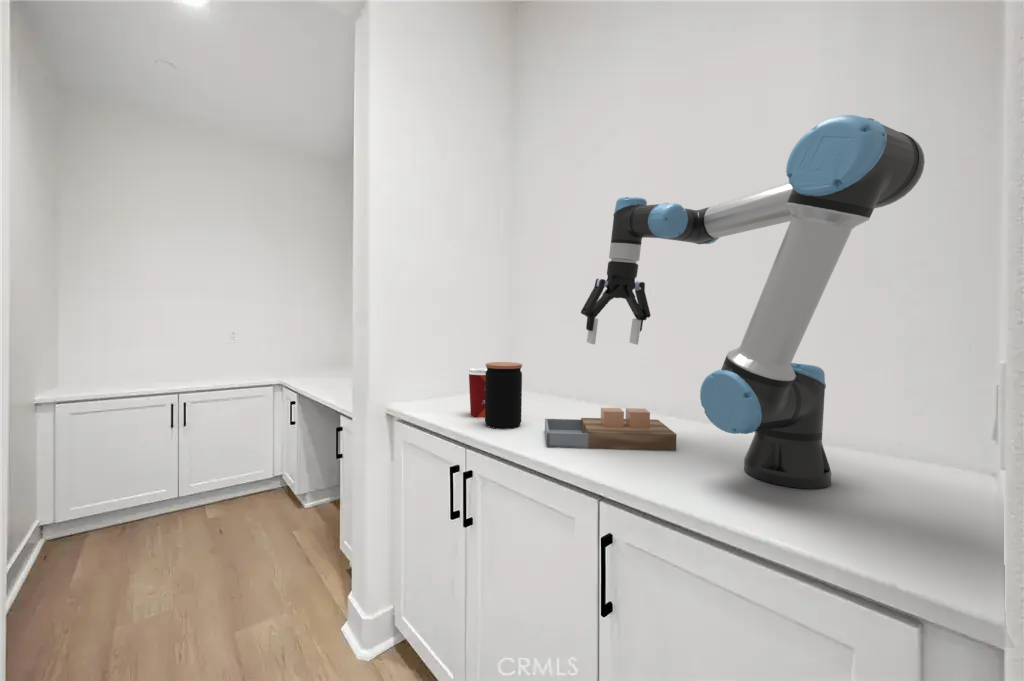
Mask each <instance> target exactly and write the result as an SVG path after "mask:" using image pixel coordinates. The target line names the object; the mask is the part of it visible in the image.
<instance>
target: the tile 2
mask: <svg viewBox="0 0 1024 681" xmlns="http://www.w3.org/2000/svg"><path fill="white" fill-rule="evenodd" d="M625 419H626V420H625V423H626V424H627V426H628V427H629V428H650V419H651V412H650V411H649V410H647V409H646V408H634V407H633V408H630V407H625Z"/></svg>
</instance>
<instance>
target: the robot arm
mask: <svg viewBox="0 0 1024 681" xmlns="http://www.w3.org/2000/svg"><path fill="white" fill-rule="evenodd" d="M925 162H926V161H925V154H924V151H923V148H922V146H921V145H920V143H919V142H918V141H917V140H915V139H914V138H913V137H912V136H910V135H909V134H906V133H905V132H900V131H899V130H898V131H897V130H896V129H893V128H891V127H889V126H887V125H884V124H882V123H881V122H880V121H878V120H875V119H874V118H871V117H863V116H859V115H854V114H842V115H837V116H833V117H830V118H828V119H825V120H823V121H821V122H820V123H818V124H817V125H815V126H814V127H813V128H811V129H809V130H808V131H807V132H806V133H804V135H802V137H801V138H800V139H799V140H798V141H797V142H796V144H795V145H794V147H793V149H792V150H791V151H790V153H789V157H788V159H787V162H786V168H785V169H786V170H785V173H786V176H787V178H788V181H787V182H785V183H783V184H779V185H776V186H775V185H774V186H771V187H769V188H766V189H763V190H759V191H756V192H753V193H750V194H747V195H746V194H745V195H743V196H740V197H737V198H734V199H730V200H727V201H723V202H721V203H717V204H713V205H712V206H707V207H704V208H701V209H692V208H684V207H683V205H682V204H679V203H671V202H670V203H668V202H663V203H657V204H648V202H647V200H646V198H643V197H638V196H621V197H619V198H617V200H616V203H615V207H614V212H613V215H612V216H613V220H612V221H613V223H612V230H611V238H610V239H611V240H610V245H609V246H610V247H609V253H608V254H609V255H608V258H609V259H610V260H609V261H608V262H607V269H606V274H607V277H606V279H603V278H596V280H595V283H594V286H593V289H592V291H591V292H590V293H589V296H588V298H587V300H586V301H585V303H584V305H583V307H582V309H581V311H580V313H581V315H583V316H585V317H586V326H585V329H586V331H587V336H586V338H587V339H586V343H588V344H590V345H596V340H597V339H596V338H597V332H598V331H597V330H598V324H599V323H598V322H599V319H598V318H597V316H598V315H599V314H600V313H601V312H602V310H603V309H604V308H605V307H606V306H607V305H608V303H609V302H610V301H612V300H613V299H624V300H625V301H626V303H627V304H628V306H629V308H630V310H631V312H632V315H633V316H634V318H632V320H631V327H630V335H629V343H630V344H633V345H639V340H640V333H641V332H642V331H643V326H644V325H643V323H644V321H646V320H647V319H650V317H651V311H650V307H649V303H648V300H647V296H646V283H645V282H644V281H638V280H637V281H636V280H635V279H636V278H637V277H638V270H639V264H638V263H637V262H639V261H640V258H641V257H640V256H641V250H642V249H641V247H642V240H643V239H644V238H646V239H647V238H648V239H649V238H650V239H652V238H653V239H663V240H671V241H678V242H679V241H680V242H686V243H691V244H697V245H710V244H713V243H715V242H716V241H718V240H719V239H720V238H722V237H728V236H732V235H735V234H740V233H744V232H749V231H755V230H757V229H763V228H767V227H771V226H776V225H780V224H784V223H788V222H789V224H788V227H787V229H786V231H785V234H784V237H783V238H782V241H781V244H780V247H779V249H778V250H777V254H776V256H775V258H774V261H773V263H772V266H771V269H770V272H769V274H768V276H767V279H766V282H765V284H764V286H763V288H762V292H761V294H760V296H759V298H758V301H757V303H756V305H755V308H754V311H753V313H752V316H751V318H750V321H749V323H748V325H747V328H746V331H745V333H744V336H743V338H742V340H741V343H740V346H739V347H737V348H734V349H732V350H729V351H728V352H727V354H726V355H725V356H726V357H725V359H724V362H723V364H722V367H721V369H717V370H715V371H713V372H712V373H709V374H707V376H706V377H705V378H704V380H703V381H702V384H701V386H700V391H699V392H700V394H699V397H700V398H699V399H700V404H701V406H702V407H703V410H704V414H705V416H706V417H707V419H708V420H709V421H710V422H711V423H712V424H713V426H715V427H716V428H717V429H720V430H721V431H723V432H725V433H729V434H732V435H733V434H734V435H735V434H738V435H739V434H741V435H743V434H744V435H747V434H753V433H754V434H753V435H754V436H753V438H752V441H751V443H750V445H749V447H748V450H747V452H746V454H745V456H744V460H743V461H744V463H743V464H744V465H743V470H744V472H746V474H748V475H749V476H751V477H753V478H756V479H758V480H760V481H764V482H766V483H770V484H774V485H779V486H784V487H789V488H796V489H808V490H809V489H810V490H811V489H813V490H814V489H823V488H827V487H829V486H831V484H832V470H831V467H830V464H829V463H830V462H829V461H828V457H827V454H826V451H825V448H824V445H823V430H824V429H823V428H824V409H825V391H826V388H827V385H826V381H825V380H826V378H825V375H826V373H825V371H824V370H823V368H821V367H820V366H816V365H813V364H812V365H811V364H805V363H797V362H793V359H794V357H795V356H796V354H797V351H798V349H799V347H800V344H801V342H802V340H803V338H804V336H805V333H806V331H807V329H808V327H809V325H810V322H811V320H812V318H813V315H814V314H815V311H816V309H817V307H818V305H819V302H820V301H821V298H822V296H823V294H824V292H825V290H826V288H827V286H828V283H829V281H830V279H831V276H832V275H833V272H834V270H835V268H836V265H837V263H838V262H839V259H840V257H841V255H842V253H843V250H844V249H845V246H846V244H847V242H848V240H849V237H850V234H851V233H852V230H853V229H854V228H856V227H858V226H860V225H861V224H864V223H866V222H867V221H869V220H870V218H871V217H872V214H873V212H874V211H875V209H878V208H883V207H886V206H888V205H891V204H893V203H895V202H898V201H899V200H901V199H903V197H906V195H907V194H909V193H911V191H912V190H913V189H914V187H915V186H916V185H917V184H918V182H919V181H920V179H921V177H922V175H923V172H924V168H925ZM605 288H606V289H605ZM634 293H635V294H634Z"/></svg>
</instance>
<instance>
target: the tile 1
mask: <svg viewBox="0 0 1024 681" xmlns="http://www.w3.org/2000/svg"><path fill="white" fill-rule="evenodd" d="M600 418H601V424H602V425H603V427H619V428H624V419H625V411H623V409H622V408H621V407H600Z"/></svg>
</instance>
